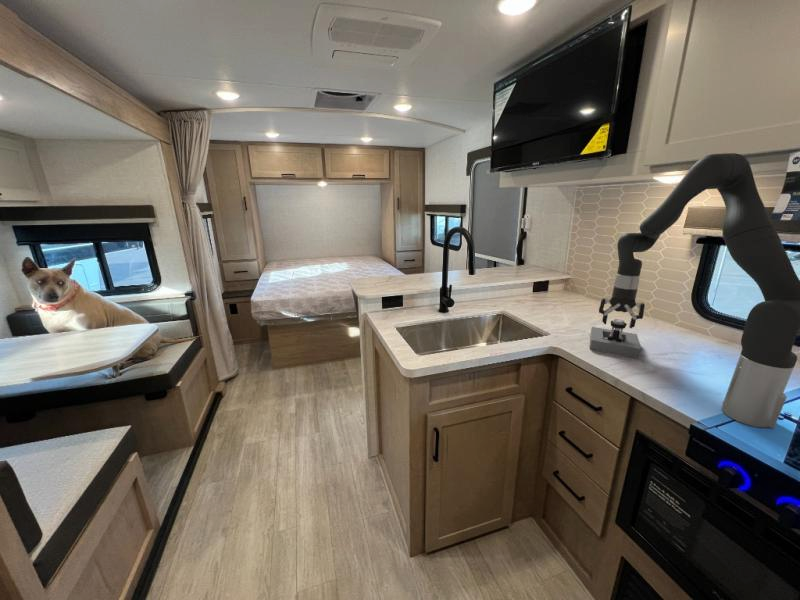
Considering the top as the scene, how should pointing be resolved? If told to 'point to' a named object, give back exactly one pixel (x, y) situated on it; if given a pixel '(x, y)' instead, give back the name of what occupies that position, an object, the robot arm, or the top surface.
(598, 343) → the housing
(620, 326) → the push button
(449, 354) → the top surface
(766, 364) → the robot arm
